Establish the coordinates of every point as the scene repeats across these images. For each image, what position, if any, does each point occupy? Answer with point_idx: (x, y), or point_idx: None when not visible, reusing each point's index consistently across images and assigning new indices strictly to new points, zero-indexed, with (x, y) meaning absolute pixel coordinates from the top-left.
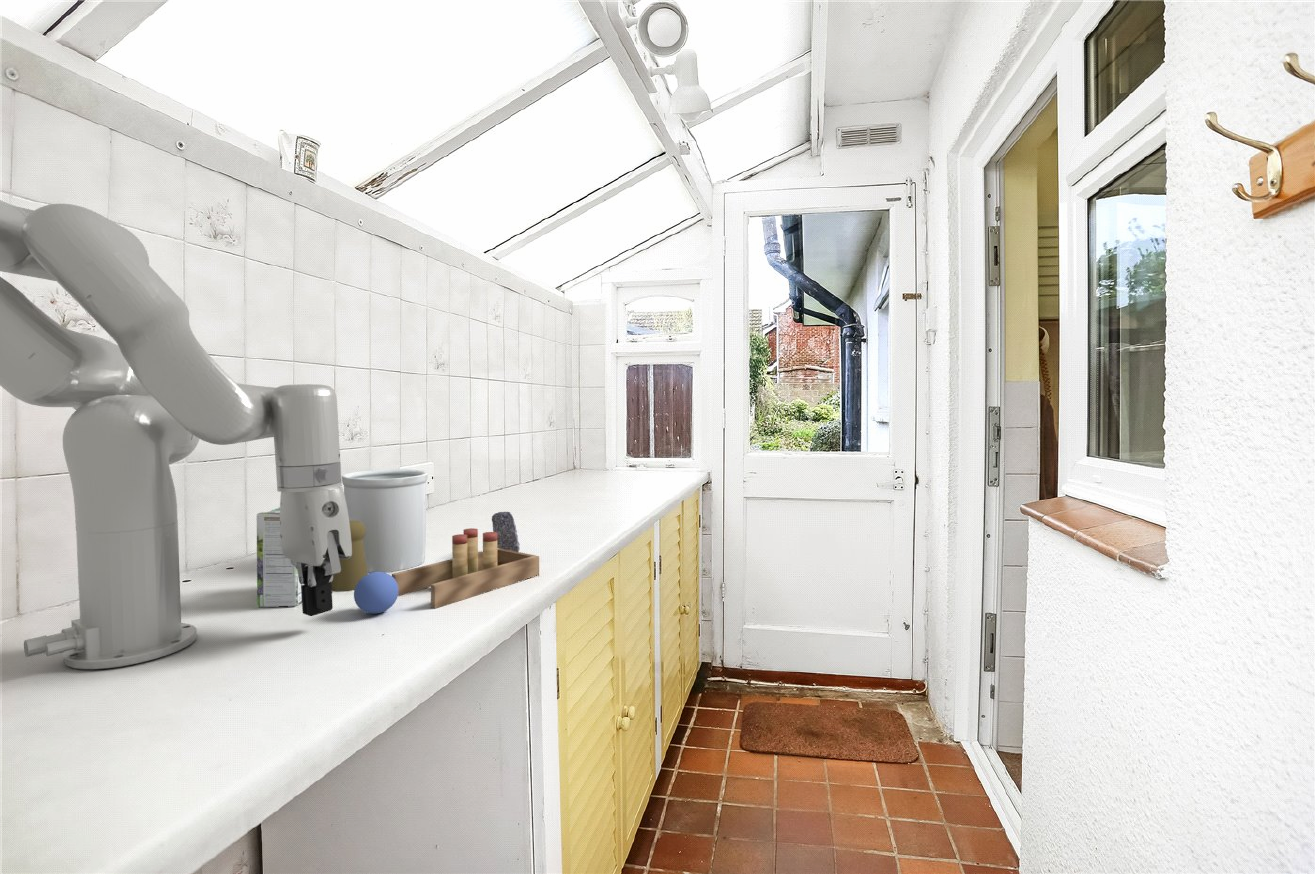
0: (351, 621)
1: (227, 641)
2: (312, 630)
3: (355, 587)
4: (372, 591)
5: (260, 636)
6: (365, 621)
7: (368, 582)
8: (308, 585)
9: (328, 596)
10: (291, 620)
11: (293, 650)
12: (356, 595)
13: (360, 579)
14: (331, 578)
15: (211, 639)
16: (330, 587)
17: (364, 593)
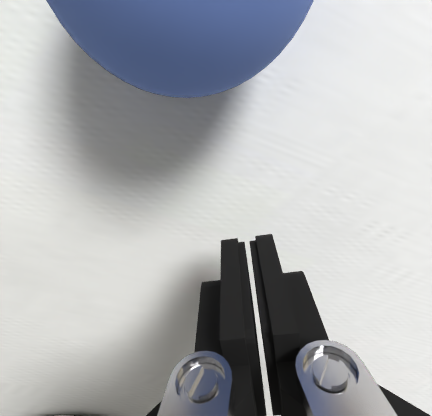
0: (225, 119)
1: (151, 382)
2: (218, 241)
3: (140, 83)
4: (298, 24)
5: (166, 336)
6: (267, 78)
7: (249, 22)
8: (256, 408)
9: (311, 296)
10: (74, 255)
11: (336, 314)
12: (198, 96)
13: (114, 36)
14: (362, 372)
15: (112, 397)
16: (290, 305)
17: (258, 69)
